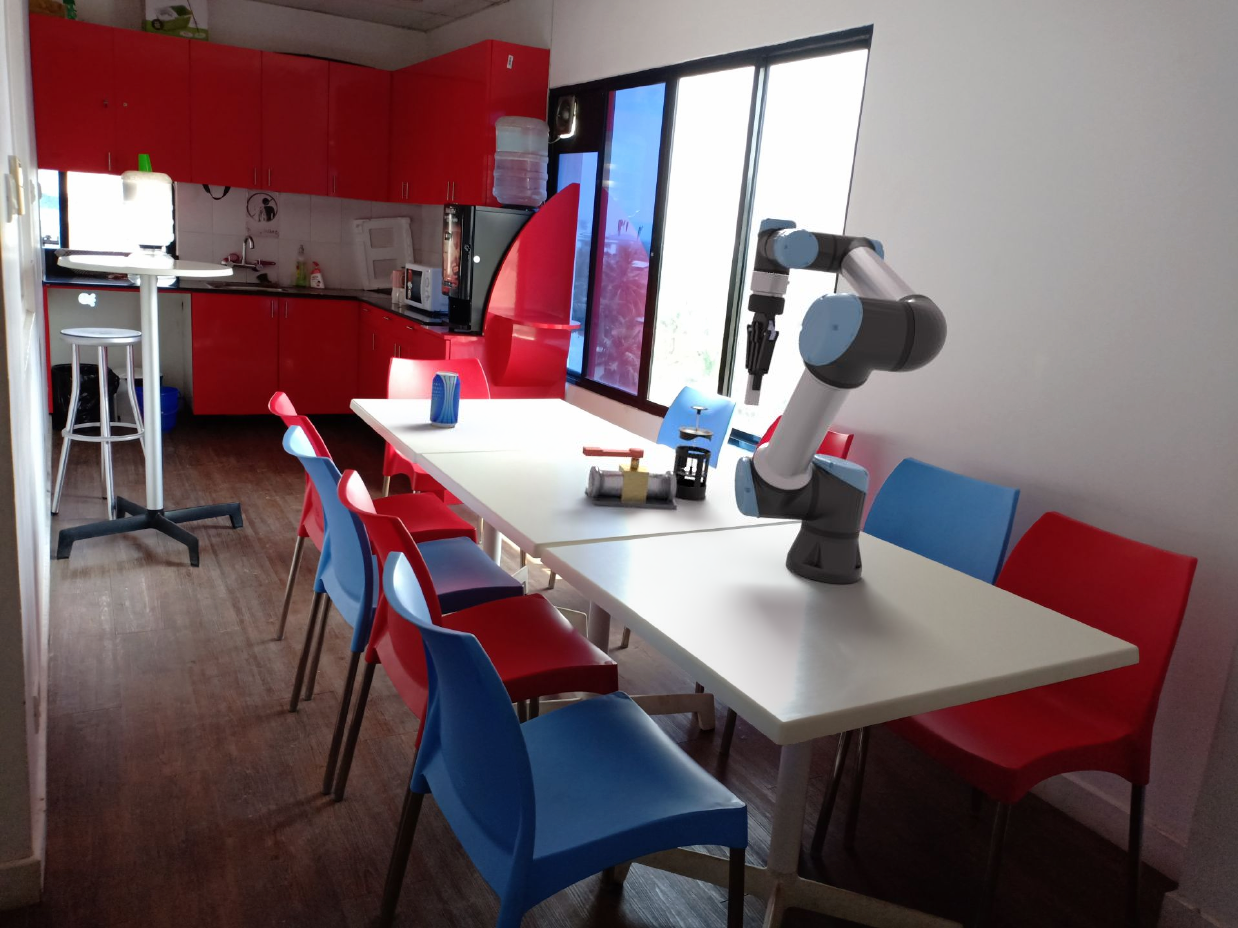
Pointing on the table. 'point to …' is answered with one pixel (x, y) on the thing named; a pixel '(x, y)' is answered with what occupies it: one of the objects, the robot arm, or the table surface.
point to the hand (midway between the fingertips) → (751, 404)
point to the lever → (613, 452)
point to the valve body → (632, 487)
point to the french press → (690, 487)
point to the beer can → (445, 399)
